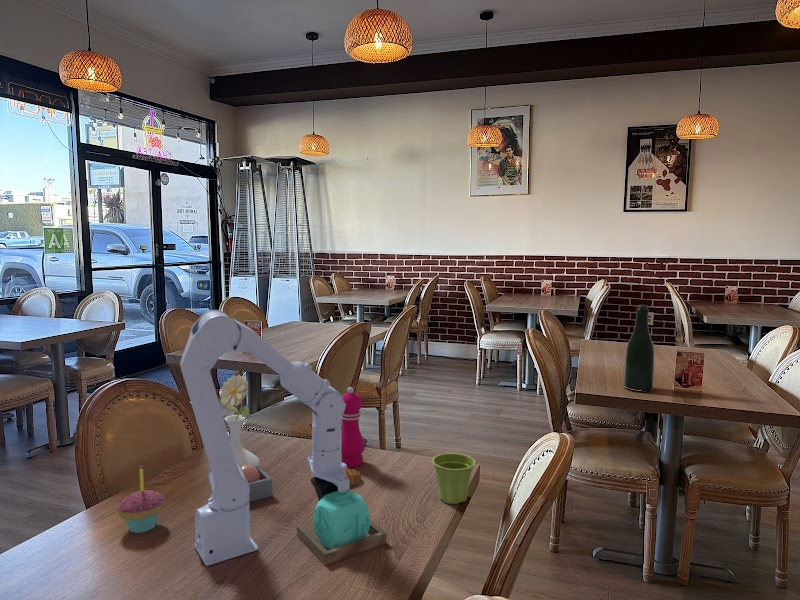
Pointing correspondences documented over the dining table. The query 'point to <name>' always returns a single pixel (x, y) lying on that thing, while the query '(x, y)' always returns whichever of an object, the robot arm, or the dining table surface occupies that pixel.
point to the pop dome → (250, 473)
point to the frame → (345, 550)
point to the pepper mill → (351, 430)
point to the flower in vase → (237, 417)
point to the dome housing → (260, 486)
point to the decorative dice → (341, 518)
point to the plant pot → (453, 476)
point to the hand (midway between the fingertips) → (327, 512)
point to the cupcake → (141, 508)
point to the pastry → (352, 476)
